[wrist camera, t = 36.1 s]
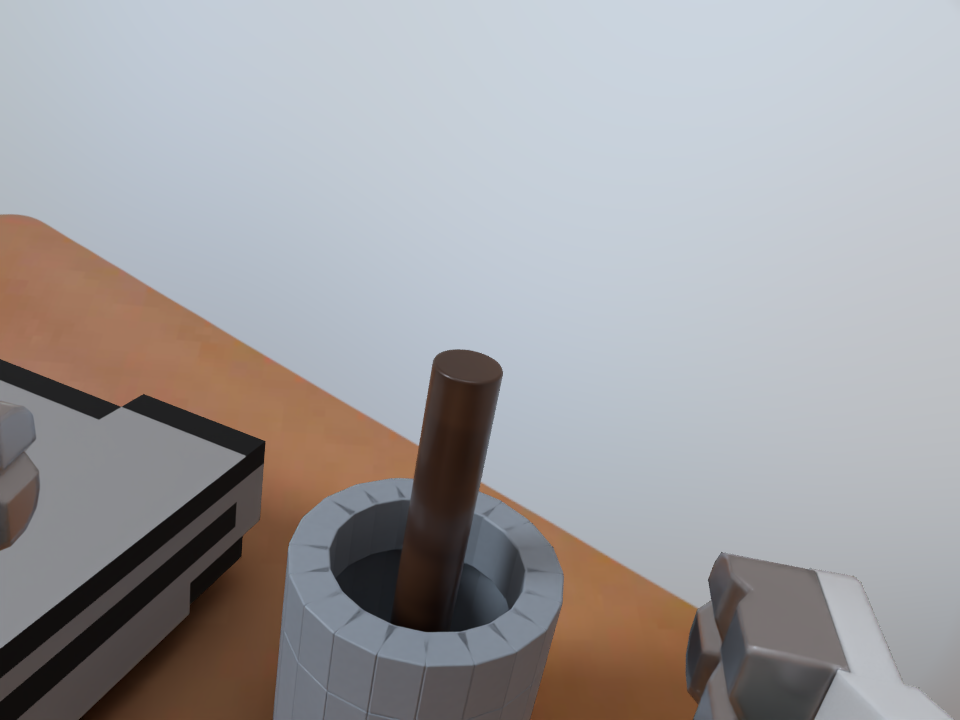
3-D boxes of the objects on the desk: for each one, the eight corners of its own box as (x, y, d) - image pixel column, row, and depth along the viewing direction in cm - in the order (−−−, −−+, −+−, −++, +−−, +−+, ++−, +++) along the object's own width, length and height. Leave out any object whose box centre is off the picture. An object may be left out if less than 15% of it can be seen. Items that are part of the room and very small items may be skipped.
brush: (440, 733, 36) (522, 352, 28) (428, 801, 33) (515, 400, 25) (365, 717, 36) (426, 333, 28) (346, 784, 34) (408, 377, 25)
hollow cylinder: (515, 702, 39) (567, 507, 35) (493, 914, 31) (558, 695, 26) (310, 656, 40) (332, 457, 35) (231, 853, 31) (246, 626, 26)
